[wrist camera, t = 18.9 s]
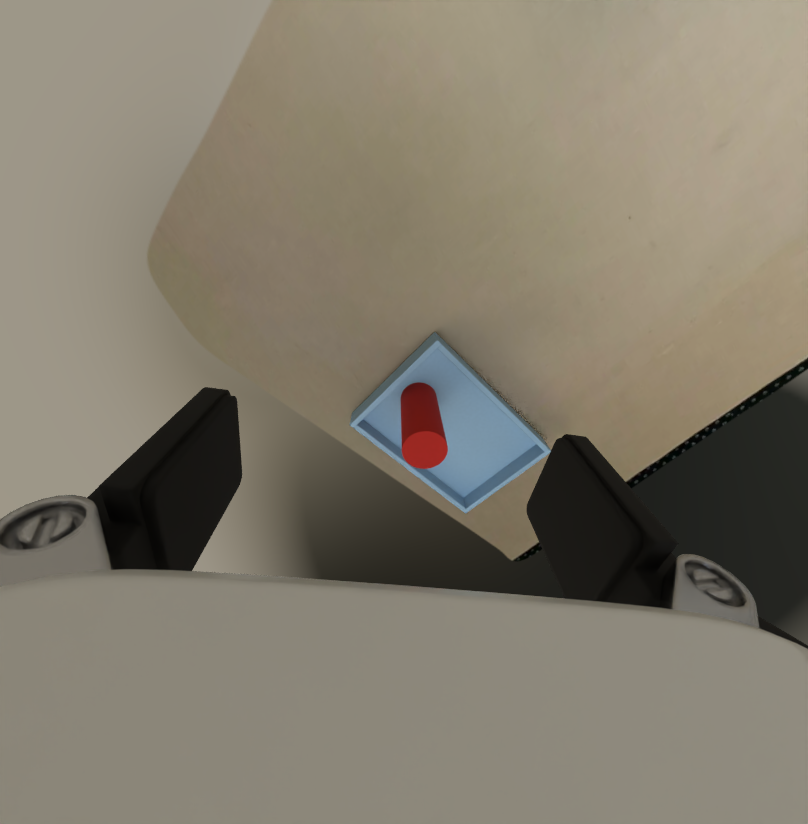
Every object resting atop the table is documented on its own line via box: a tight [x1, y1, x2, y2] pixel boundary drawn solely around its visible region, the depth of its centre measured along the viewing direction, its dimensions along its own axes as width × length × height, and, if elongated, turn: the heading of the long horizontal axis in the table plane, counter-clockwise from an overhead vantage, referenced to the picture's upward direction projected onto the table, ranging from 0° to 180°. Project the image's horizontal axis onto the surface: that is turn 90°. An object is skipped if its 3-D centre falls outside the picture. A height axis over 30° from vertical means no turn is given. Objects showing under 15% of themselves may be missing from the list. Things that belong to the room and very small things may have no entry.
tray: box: [350, 332, 551, 513], centre depth 41 cm, size 19×13×3 cm
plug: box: [401, 382, 448, 469], centre depth 35 cm, size 4×4×10 cm
